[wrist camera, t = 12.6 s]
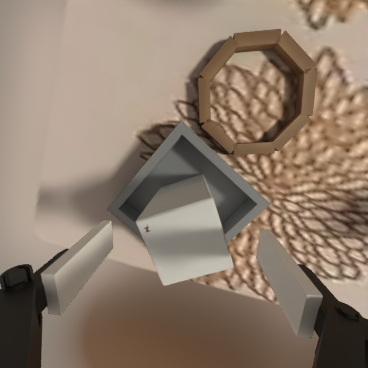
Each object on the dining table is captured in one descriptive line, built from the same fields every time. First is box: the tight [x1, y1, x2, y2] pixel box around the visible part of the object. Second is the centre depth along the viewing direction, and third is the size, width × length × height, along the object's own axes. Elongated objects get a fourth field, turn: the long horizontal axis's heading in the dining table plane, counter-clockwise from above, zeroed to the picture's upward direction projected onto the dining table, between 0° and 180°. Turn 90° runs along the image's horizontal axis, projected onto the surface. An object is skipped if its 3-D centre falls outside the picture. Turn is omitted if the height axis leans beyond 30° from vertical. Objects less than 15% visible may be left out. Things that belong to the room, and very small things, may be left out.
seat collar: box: [198, 29, 317, 155], centre depth 24 cm, size 15×15×2 cm
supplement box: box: [136, 174, 234, 286], centre depth 22 cm, size 7×7×13 cm
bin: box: [107, 121, 270, 243], centre depth 27 cm, size 16×16×4 cm
